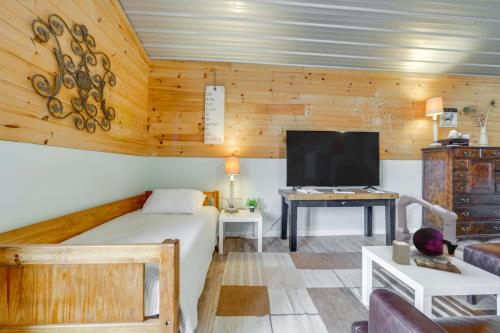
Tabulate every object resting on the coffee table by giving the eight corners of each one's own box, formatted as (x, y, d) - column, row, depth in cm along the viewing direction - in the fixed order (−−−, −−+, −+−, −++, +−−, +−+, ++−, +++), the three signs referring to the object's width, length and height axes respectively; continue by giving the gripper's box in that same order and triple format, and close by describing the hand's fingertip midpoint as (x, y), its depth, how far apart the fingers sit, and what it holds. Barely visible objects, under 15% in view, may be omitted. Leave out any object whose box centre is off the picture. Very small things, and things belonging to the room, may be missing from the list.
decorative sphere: (408, 249, 172) (408, 223, 172) (439, 252, 165) (439, 226, 166) (418, 258, 153) (419, 229, 153) (454, 263, 146) (455, 233, 147)
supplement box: (403, 260, 149) (403, 241, 149) (410, 264, 142) (410, 245, 142) (391, 259, 150) (392, 240, 150) (398, 264, 142) (398, 244, 143)
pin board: (417, 266, 140) (417, 259, 140) (413, 260, 150) (413, 253, 150) (461, 274, 131) (461, 266, 131) (453, 267, 140) (453, 259, 140)
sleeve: (445, 255, 136) (445, 246, 136) (442, 253, 141) (442, 243, 141) (456, 257, 134) (456, 247, 134) (452, 254, 139) (452, 245, 139)
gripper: (462, 235, 129) (462, 258, 129) (453, 229, 142) (452, 250, 142) (447, 233, 132) (447, 256, 132) (439, 228, 145) (439, 248, 145)
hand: (449, 253), depth 137 cm, fingers closed on sleeve, 5 cm apart
